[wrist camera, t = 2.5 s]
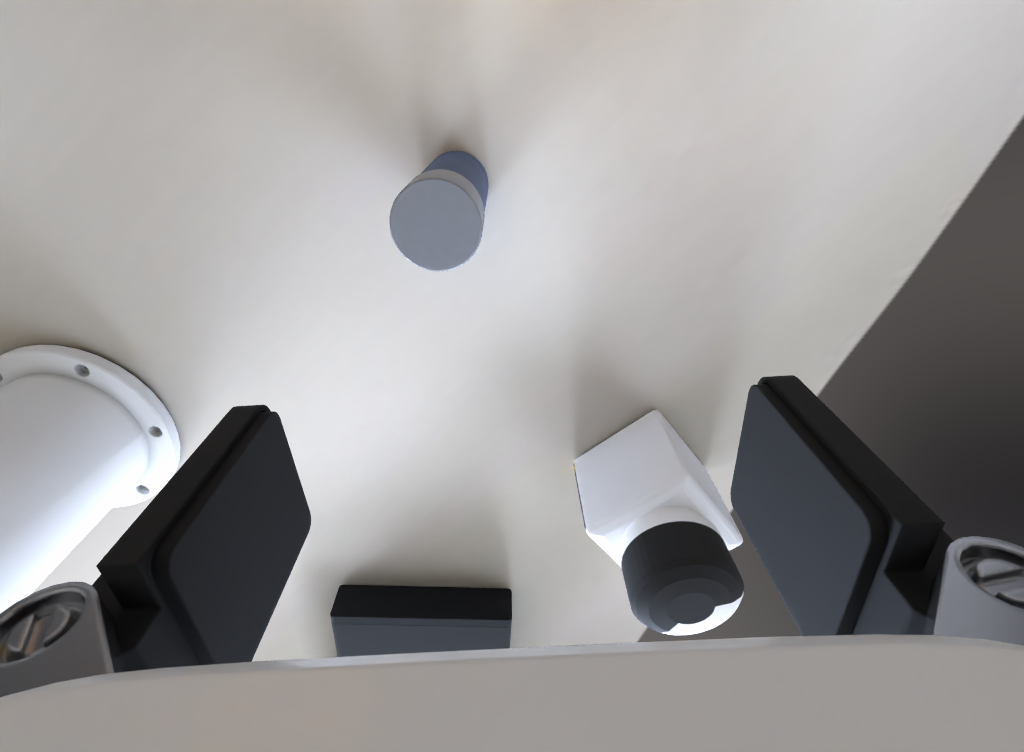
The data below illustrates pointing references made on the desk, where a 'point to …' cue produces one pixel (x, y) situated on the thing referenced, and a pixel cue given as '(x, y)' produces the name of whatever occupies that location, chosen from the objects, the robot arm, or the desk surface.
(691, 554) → the medicine bottle
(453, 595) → the external hard drive
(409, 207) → the glue stick
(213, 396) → the desk surface
